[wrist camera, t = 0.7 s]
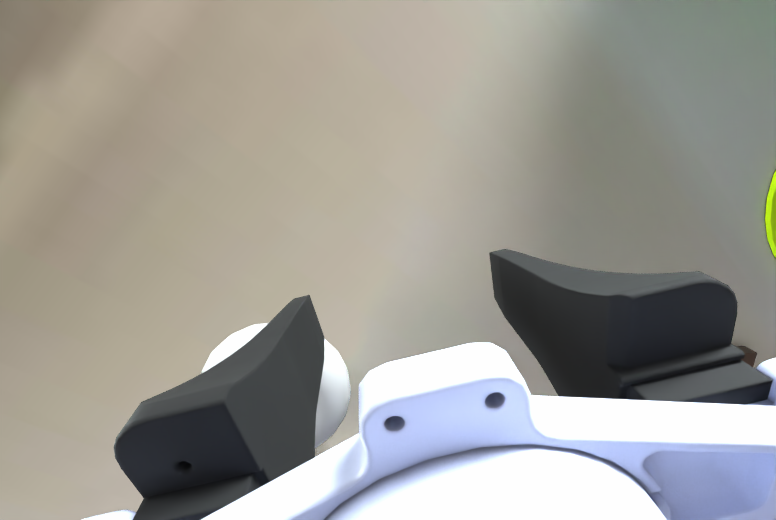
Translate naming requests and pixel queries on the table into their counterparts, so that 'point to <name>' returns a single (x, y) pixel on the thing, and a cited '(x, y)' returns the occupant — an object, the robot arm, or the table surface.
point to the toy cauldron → (771, 215)
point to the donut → (331, 389)
